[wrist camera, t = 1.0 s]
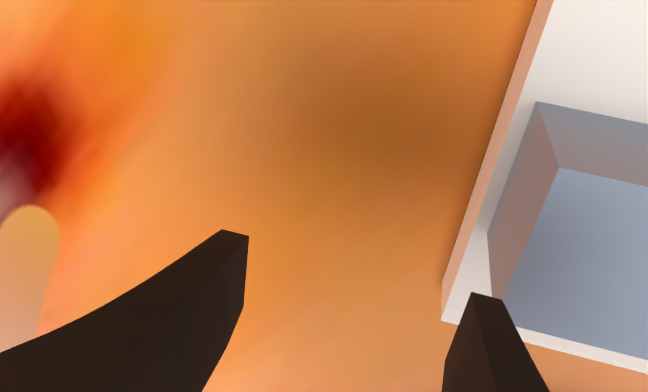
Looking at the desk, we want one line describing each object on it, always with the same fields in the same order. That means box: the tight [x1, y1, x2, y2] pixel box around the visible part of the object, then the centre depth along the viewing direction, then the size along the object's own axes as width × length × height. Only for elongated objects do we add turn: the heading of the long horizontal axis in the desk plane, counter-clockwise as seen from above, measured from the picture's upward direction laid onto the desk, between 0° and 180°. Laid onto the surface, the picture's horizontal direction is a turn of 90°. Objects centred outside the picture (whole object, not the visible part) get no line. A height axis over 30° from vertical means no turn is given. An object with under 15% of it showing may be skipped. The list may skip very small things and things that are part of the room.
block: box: [487, 101, 648, 360], centre depth 15 cm, size 5×5×4 cm
